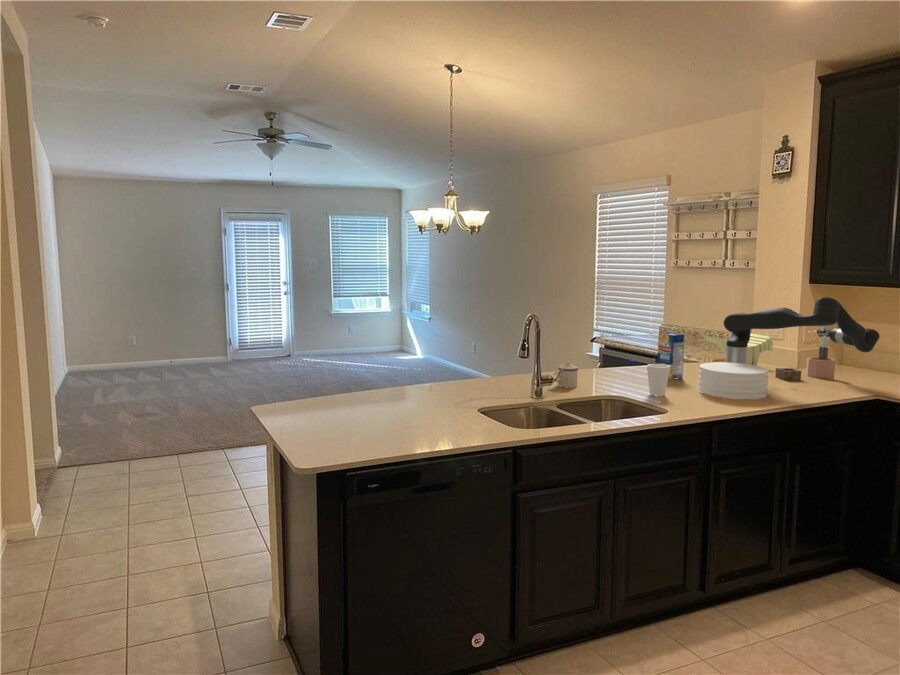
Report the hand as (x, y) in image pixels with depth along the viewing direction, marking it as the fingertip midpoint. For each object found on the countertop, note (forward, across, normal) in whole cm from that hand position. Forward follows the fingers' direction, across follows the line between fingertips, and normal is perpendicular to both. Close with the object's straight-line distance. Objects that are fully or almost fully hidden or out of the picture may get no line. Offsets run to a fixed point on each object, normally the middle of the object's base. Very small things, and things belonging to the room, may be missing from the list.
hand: (821, 331), depth 314 cm
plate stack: (-33, -59, -24) cm, 71 cm away
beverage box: (+3, -74, -23) cm, 77 cm away
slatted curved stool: (+25, -28, -23) cm, 45 cm away
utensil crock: (-2, 0, -23) cm, 23 cm away
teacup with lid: (-19, -131, -23) cm, 134 cm away
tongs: (-3, 0, -13) cm, 14 cm away
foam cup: (-37, -94, -23) cm, 104 cm away
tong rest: (-9, -21, -23) cm, 32 cm away
